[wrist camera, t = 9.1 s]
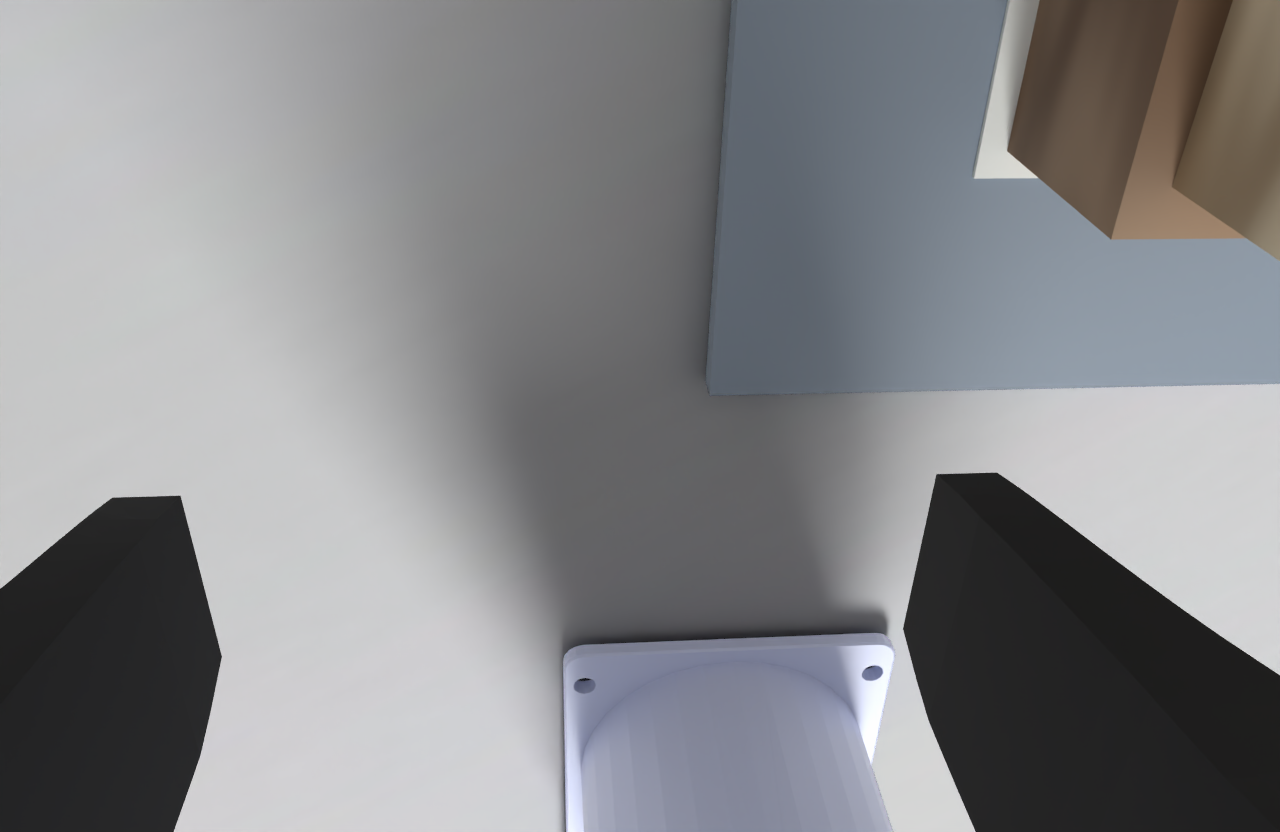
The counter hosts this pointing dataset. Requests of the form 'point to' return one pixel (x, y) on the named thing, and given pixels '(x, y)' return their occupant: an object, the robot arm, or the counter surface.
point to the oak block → (1240, 128)
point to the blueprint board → (939, 225)
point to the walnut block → (1119, 110)
